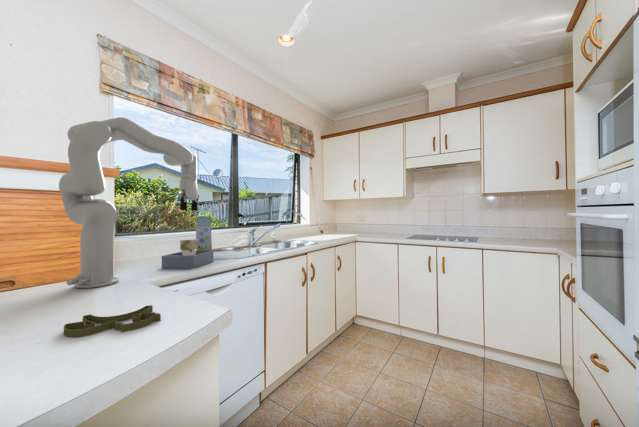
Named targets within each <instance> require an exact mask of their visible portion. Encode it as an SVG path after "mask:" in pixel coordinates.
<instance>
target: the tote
mask: <svg viewBox="0 0 639 427" xmlns="http://www.w3.org/2000/svg"><path fill="white" fill-rule="evenodd" d="M212 261H213V262H214V250H212V251H196V255H194V256H182V250H180V251H177V252H172V253H169V254H163V255H161V269H191V268H194V269H196V268H199V267H202V266H205V265H207V263H208V264H210V263H213V262H212ZM209 262H210V263H209ZM204 264H205V265H204ZM201 265H202V266H201Z"/></svg>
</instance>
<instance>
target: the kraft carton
mask: <svg viewBox="0 0 639 427" xmlns="http://www.w3.org/2000/svg"><path fill="white" fill-rule="evenodd" d="M179 243H180V247H179V249H180V251H182V250H194V249H198V239H196V238H185V239H180V242H179Z"/></svg>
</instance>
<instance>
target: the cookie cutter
mask: <svg viewBox="0 0 639 427" xmlns="http://www.w3.org/2000/svg"><path fill="white" fill-rule="evenodd" d="M153 306H154V305H152V304H151V305H144V306H143V307H142V308H139V309H136V310H134V311H131V312H128V313H122V314H118V315H111V316H97V315H93V314H91V313H90V314H87V315H83V316H82V321H76V322H69V323H65V324H64V325H63V336H64V337H65V338H70V339H71V338H72V339H76V338H84V337H88V336H92V335H96V334H98V333H102V332H105V331H107V330H111V329H114V331H116V332H117V331H120V333H126V332H131V331H135V330H140V329H143V328H146V327H148V326H150V325H153V324H154V323H155V322H160V321H161V320H162V318H161V313H159V312H154V311H153V310H154V309H153ZM129 320H131V321H132V322H130V323H129V322H128V323H123V322H126V321H129ZM96 324H97V325H96Z"/></svg>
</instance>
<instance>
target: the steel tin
mask: <svg viewBox="0 0 639 427" xmlns="http://www.w3.org/2000/svg"><path fill="white" fill-rule="evenodd" d="M181 251H182V256H194V255H196V249H194V250H181Z"/></svg>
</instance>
